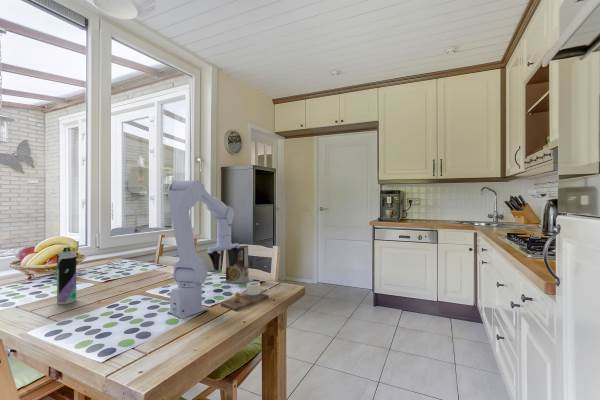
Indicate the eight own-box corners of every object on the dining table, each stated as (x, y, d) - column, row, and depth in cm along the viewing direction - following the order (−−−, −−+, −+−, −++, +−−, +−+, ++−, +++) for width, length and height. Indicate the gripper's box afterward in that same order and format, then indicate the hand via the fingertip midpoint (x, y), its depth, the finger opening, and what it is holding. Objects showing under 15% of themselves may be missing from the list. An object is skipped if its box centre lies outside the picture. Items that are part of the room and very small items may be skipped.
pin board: (235, 311, 94) (235, 298, 94) (220, 305, 98) (220, 293, 98) (268, 297, 106) (268, 286, 106) (254, 293, 111) (254, 282, 111)
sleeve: (253, 299, 102) (253, 286, 102) (244, 296, 105) (244, 284, 105) (263, 295, 106) (263, 283, 106) (253, 292, 109) (253, 281, 109)
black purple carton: (65, 305, 99) (65, 249, 99) (52, 303, 100) (52, 248, 100) (80, 299, 104) (80, 246, 104) (68, 298, 105) (68, 246, 106)
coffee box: (248, 279, 131) (248, 245, 131) (244, 283, 124) (244, 247, 124) (230, 279, 132) (230, 245, 132) (225, 283, 125) (225, 247, 125)
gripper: (231, 232, 123) (231, 263, 123) (203, 236, 111) (203, 269, 111) (242, 233, 119) (242, 265, 119) (213, 237, 107) (213, 272, 107)
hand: (224, 267), depth 115 cm, fingers open, 7 cm apart
